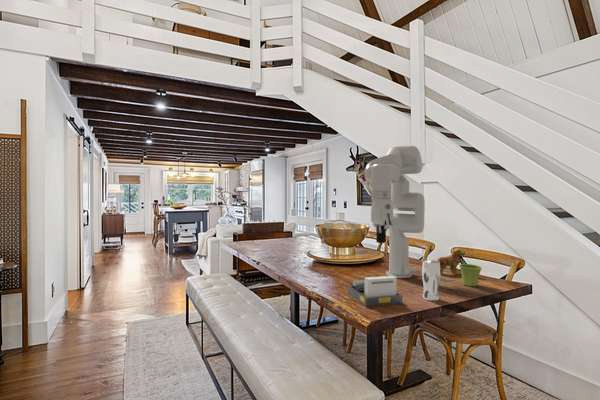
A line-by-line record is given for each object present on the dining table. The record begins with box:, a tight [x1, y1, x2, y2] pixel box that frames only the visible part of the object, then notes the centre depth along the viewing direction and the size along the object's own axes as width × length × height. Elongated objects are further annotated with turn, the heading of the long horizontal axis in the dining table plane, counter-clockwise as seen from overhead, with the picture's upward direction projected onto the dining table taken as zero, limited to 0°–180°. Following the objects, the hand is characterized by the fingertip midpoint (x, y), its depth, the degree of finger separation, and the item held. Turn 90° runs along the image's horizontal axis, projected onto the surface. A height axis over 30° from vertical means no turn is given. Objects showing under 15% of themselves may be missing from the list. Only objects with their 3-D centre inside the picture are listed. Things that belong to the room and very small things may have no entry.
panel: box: [364, 275, 398, 298], centre depth 127 cm, size 12×3×9 cm, turn 105°
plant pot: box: [458, 263, 483, 288], centre depth 151 cm, size 9×9×9 cm
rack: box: [347, 279, 403, 308], centre depth 132 cm, size 15×17×6 cm
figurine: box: [436, 248, 466, 276], centre depth 172 cm, size 15×6×13 cm, turn 94°
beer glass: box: [421, 259, 441, 302], centre depth 132 cm, size 7×7×15 cm
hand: (381, 242), depth 129 cm, fingers closed
